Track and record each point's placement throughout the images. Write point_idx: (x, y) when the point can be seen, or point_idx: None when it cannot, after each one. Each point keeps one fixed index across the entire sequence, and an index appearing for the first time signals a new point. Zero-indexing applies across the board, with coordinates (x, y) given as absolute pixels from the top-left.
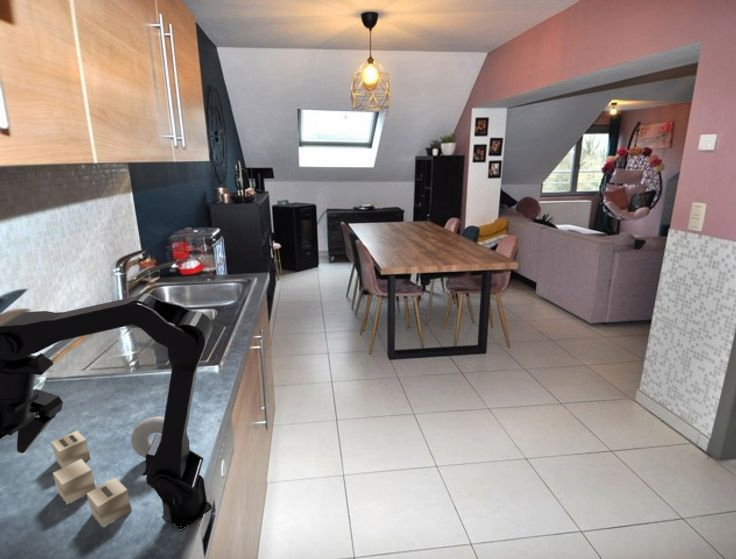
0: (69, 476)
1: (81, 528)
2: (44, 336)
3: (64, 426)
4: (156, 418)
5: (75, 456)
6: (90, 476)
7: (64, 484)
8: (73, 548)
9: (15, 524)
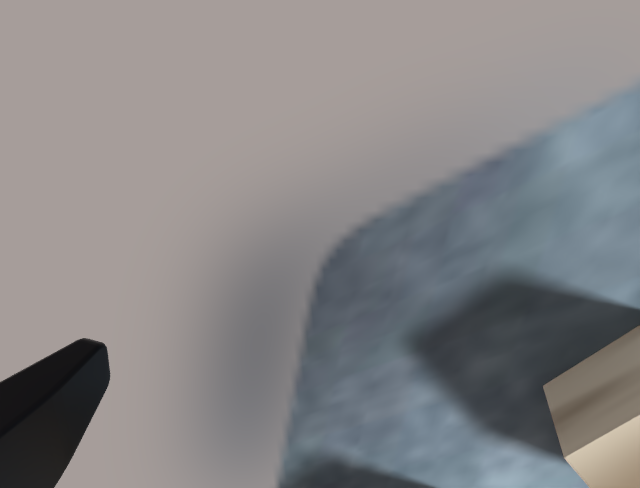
0: (634, 477)
1: (386, 473)
2: None
3: None
4: None
5: None
6: None
7: (569, 463)
8: (295, 470)
9: (473, 203)
